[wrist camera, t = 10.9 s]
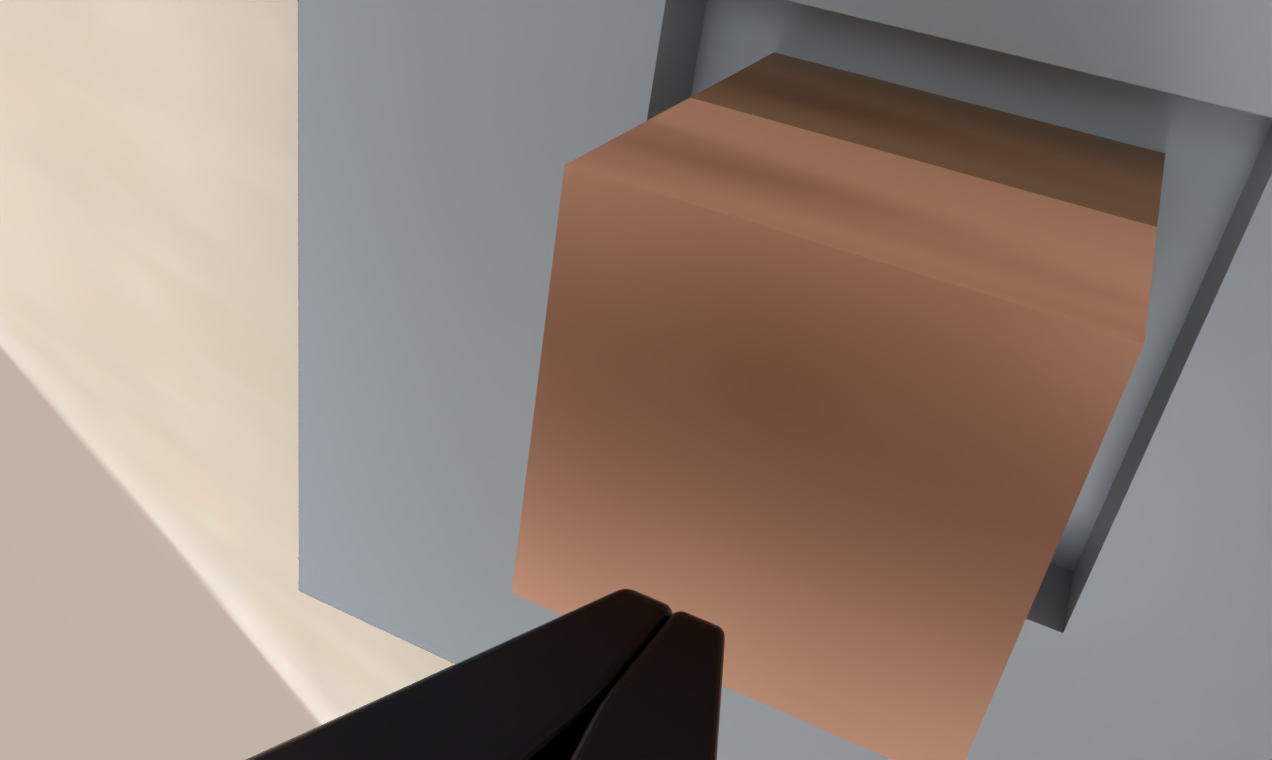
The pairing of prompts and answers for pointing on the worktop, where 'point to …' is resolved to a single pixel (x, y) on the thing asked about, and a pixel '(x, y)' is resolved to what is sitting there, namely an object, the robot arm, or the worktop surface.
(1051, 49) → the socket board
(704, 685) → the robot arm
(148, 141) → the worktop surface
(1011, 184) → the brown block
